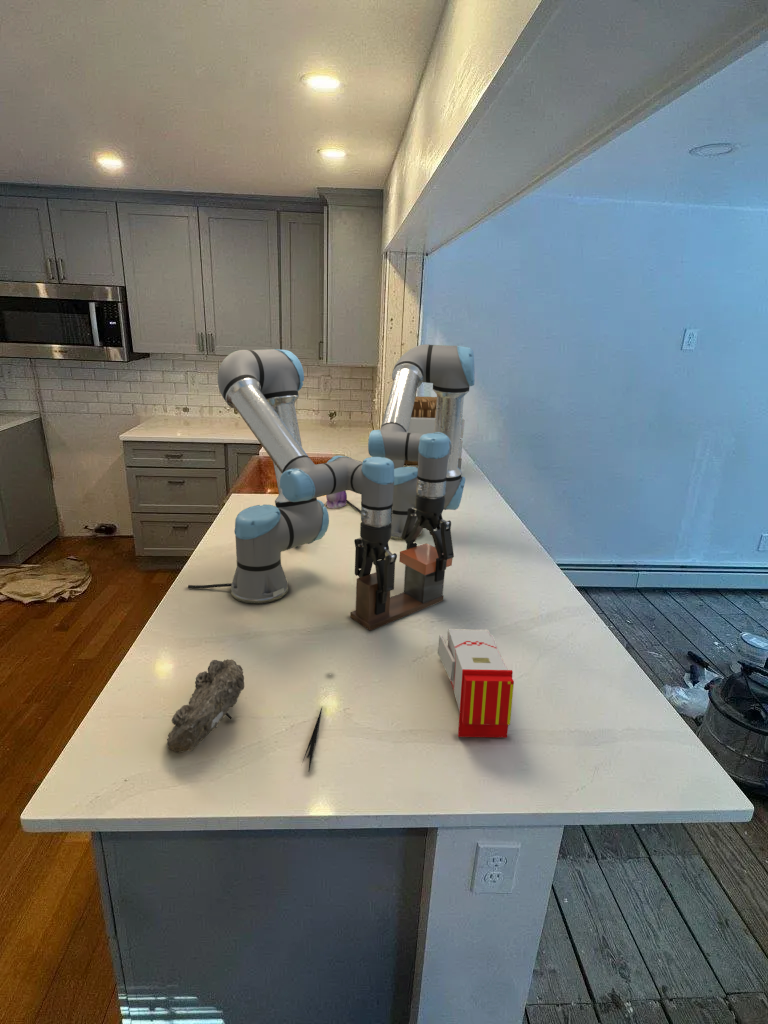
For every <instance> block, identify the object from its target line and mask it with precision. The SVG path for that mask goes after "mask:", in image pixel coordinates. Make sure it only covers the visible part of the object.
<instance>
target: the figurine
mask: <svg viewBox="0 0 768 1024" xmlns="http://www.w3.org/2000/svg"><path fill="white" fill-rule="evenodd" d="M325 497H326V503H325V505H326V508H327V509H328V508H329V509H339V508H344V507H345V506H346V505H347V502H346V501H347V500H348V495H347V490H346V491H342V492H338V493H334V494H329V495H325Z"/></svg>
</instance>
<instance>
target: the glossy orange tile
mask: <svg viewBox="0 0 768 1024" xmlns="http://www.w3.org/2000/svg"><path fill="white" fill-rule="evenodd" d="M406 549H407V548H406ZM406 549H404V550H401V551H399V559H398V561H399V563H401V564H403V565H404V566H405V565H407V566H409V567H410V568H412V569H414V570H416V571H418V572H420V573H422V574H424V575H427V574H430V573H433V572H435V567H436V558H439V557H438V554H437V550H436V547H435V546H433V545H431V544H430V543H427V542H426V543H422V544H420V545H417V546H416V547H413V548H410V549H407V550H406ZM442 555H443V554H442ZM452 565H453V558H451V559H448V560H447V565H446V568H449V567H451V566H452Z"/></svg>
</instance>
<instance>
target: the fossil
mask: <svg viewBox="0 0 768 1024" xmlns="http://www.w3.org/2000/svg"><path fill="white" fill-rule="evenodd" d="M243 670H244V669H243V667H242V665H240V664H237V662H236V661H235V660H234V659H232V658H231V659H227V658H226V659H224V660H223V661H222V660H217V659H212V660H211V661H210V663H209V665H208V666H207V671H201V672H199V673H198V674H197V675H196V676H195V680H194V684H195V685H194V687H195V689H194V690H193V693H192V694H191V697H190V698H189V700H188V704H184V705H182V706H181V707H180V709H177V710H176V711H175V713H174V715H173V716H172V718H171V723H172V724H173V727H172V730H171V731H170V732H168V734H167V738H166V741H167V742H166V745H167V749H168V750H169V751H173V752H174V753H176V754H178V753H182V752H188V751H189V752H192V751H193V750H195V748H196V747H197V746H199V744H200V743H201V742H203V741H204V740H205V739H206V738H207V737H208V736H209V735H210V734H211V733H212V732H214V730H215V729H217V727H218V726H219V724H220V722H221V721H222V720H223V719H224V718H225V716H226V717H227V719H229V720H233V717H232V715H230V714H229V710H230V709H231V708H234V706H235V704H236V703H237V702H238V699H239V697H240V695H241V693H242V691H243V690H245V689H244V688H245V675H244V671H243Z"/></svg>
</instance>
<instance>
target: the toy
mask: <svg viewBox="0 0 768 1024" xmlns="http://www.w3.org/2000/svg"><path fill="white" fill-rule="evenodd" d="M446 640H447V643H446V641H445V639H444V636H443V635H442V634H439V637H438V646H437V656H438V657H439V659H440V661H441V663H442V666H443V668H444V670H445V672H446V674H447V677H448V679H449V681H450V684H451V687H452V690H453V693H454V697H455V701H456V705H457V708H458V711H459V714H458V715H459V716H458V730H457V731H458V732H457V737H458V738H508V731H509V726H510V725H511V717H512V707H513V697H514V696H513V695H514V684H515V680H514V679H513V673H514V671H513V670H512V669H508V667H507V665H506V662H505V661H504V659H503V658H502V655H501V653H500V651H499V649H498V647H497V643H496V639H495V637H494V635H493V634H491V632H490V631H489V629H467V628H466V629H465V628H463V629H461V628H460V629H459V628H448V630H447V639H446Z"/></svg>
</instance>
